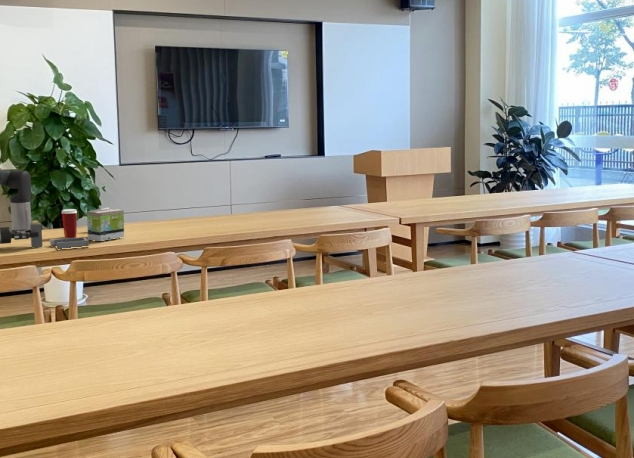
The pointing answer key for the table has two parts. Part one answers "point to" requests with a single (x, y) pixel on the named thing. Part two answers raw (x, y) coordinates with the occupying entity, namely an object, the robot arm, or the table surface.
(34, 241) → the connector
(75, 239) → the end holder
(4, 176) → the robot arm
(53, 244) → the cable clip
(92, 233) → the tea box
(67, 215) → the paper cup
